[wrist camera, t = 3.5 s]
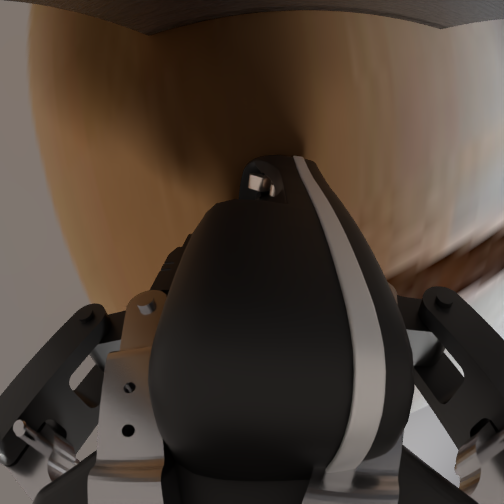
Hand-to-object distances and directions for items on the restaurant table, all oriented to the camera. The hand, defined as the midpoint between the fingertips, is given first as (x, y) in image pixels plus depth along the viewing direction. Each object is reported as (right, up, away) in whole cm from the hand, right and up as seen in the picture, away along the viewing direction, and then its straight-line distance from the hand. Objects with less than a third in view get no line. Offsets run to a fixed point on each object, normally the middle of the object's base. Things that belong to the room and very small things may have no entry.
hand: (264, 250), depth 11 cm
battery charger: (0, +2, +3) cm, 3 cm away
